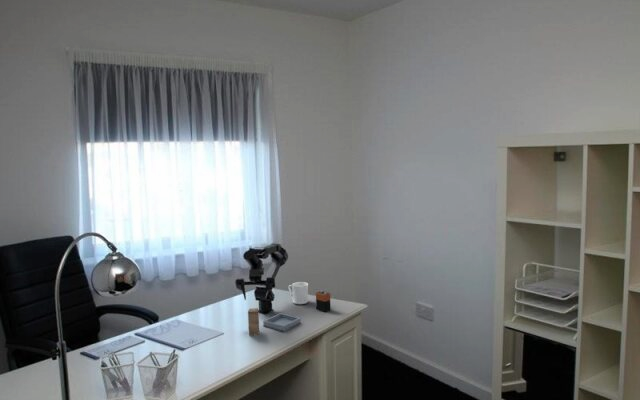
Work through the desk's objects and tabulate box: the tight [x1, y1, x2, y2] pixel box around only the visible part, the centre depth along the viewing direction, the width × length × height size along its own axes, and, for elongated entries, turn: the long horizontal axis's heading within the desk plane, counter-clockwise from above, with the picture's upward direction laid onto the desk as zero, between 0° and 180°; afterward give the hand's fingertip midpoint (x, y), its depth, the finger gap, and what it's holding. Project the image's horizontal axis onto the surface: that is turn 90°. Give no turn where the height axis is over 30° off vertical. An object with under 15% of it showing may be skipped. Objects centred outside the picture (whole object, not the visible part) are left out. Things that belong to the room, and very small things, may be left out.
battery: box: [315, 289, 331, 313], centre depth 242 cm, size 4×7×10 cm, turn 44°
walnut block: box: [247, 307, 260, 336], centre depth 214 cm, size 4×4×11 cm
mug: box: [287, 281, 309, 306], centre depth 254 cm, size 11×9×10 cm
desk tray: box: [262, 312, 302, 332], centre depth 224 cm, size 13×13×2 cm
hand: (254, 299), depth 220 cm, fingers open, 9 cm apart
